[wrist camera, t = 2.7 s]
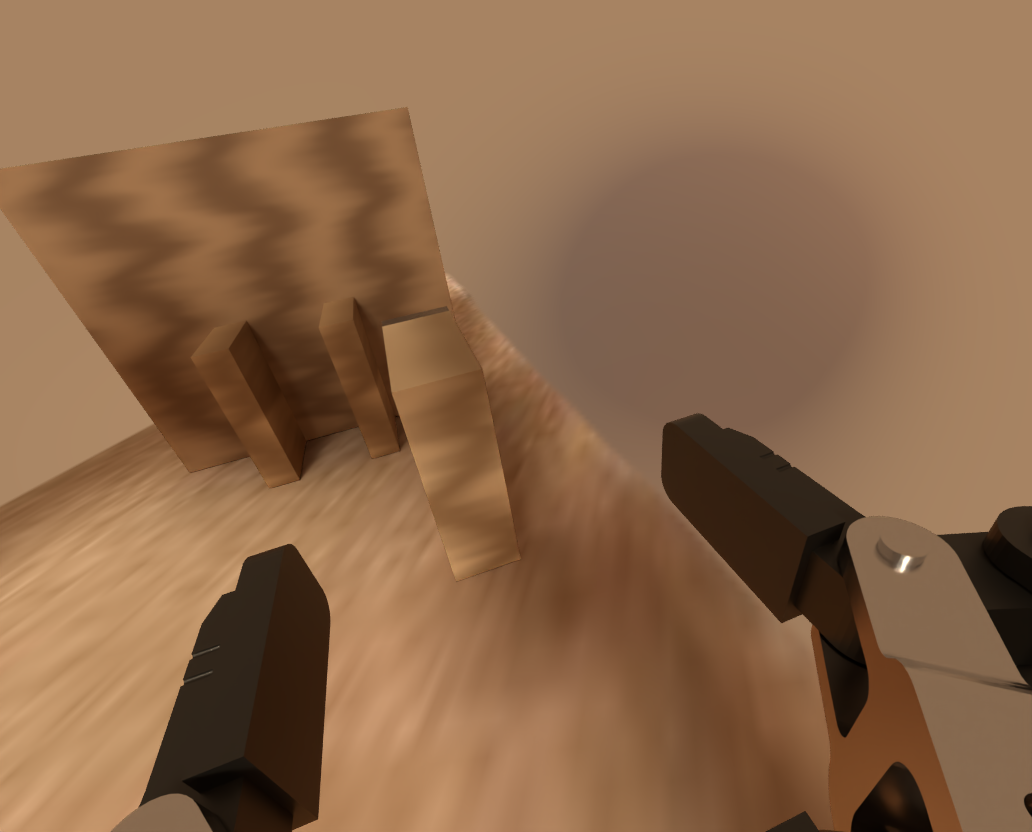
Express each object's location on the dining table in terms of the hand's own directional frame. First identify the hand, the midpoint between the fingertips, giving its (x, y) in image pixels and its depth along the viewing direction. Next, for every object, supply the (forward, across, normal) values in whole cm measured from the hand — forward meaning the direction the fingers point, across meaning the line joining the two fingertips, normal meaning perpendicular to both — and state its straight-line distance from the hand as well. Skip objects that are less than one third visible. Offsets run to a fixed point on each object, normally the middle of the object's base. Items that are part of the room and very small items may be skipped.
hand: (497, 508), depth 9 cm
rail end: (+12, 0, +12) cm, 17 cm away
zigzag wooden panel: (+24, +8, +11) cm, 28 cm away
